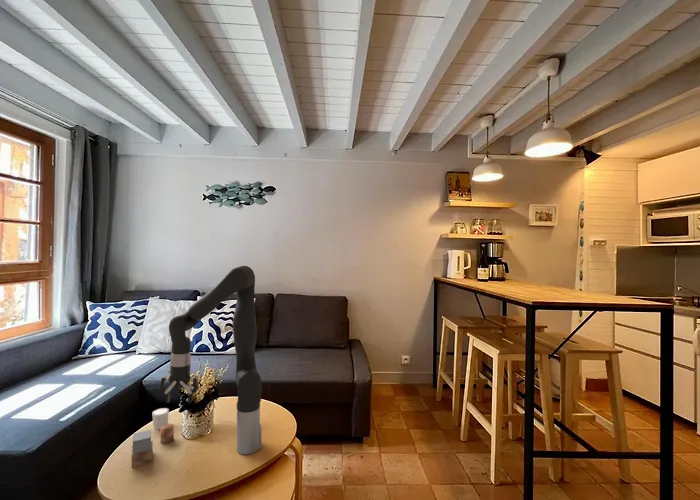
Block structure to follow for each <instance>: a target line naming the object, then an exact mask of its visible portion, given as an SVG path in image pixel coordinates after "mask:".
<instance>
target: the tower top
mask: <svg viewBox="0 0 700 500" xmlns="http://www.w3.org/2000/svg"><path fill="white" fill-rule="evenodd" d="M151 441H152V430H151V429H148V430H143V431H140V432H134V433H133V434H132V445H133V454H137V453H141V452H145V451H149V450H151Z"/></svg>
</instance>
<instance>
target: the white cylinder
mask: <svg viewBox="0 0 700 500" xmlns="http://www.w3.org/2000/svg"><path fill="white" fill-rule="evenodd" d="M169 413H170V409H169V408H168V407H167V408H166V407H164V408H163V407H161V408H157V409H155V410H153V411H152V413H151V414H152V415H151V416H152V425H153V429H154V430H157V431H158V430H159V431H160V428H161V427H162V426H163V425H166V424H169Z"/></svg>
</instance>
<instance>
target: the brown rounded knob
mask: <svg viewBox="0 0 700 500" xmlns="http://www.w3.org/2000/svg"><path fill="white" fill-rule="evenodd" d="M174 427H175V426H174V424H172V423H168V424H166V425H163V426H162V427H161V428H160V430H159V431H160V434H159V435H160V444H162V445H167V444H171V443H172V442H174V440H175V439H174V438H175V437H174V433H175V430H174ZM170 442H171V443H170Z"/></svg>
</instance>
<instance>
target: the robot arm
mask: <svg viewBox="0 0 700 500" xmlns="http://www.w3.org/2000/svg"><path fill="white" fill-rule="evenodd" d="M255 286H256V275H255V272H254V270H253V269H252V268H251V267H250V266H248V265H241V266H238V267H234V268H232V269H231V270H230V271H229V272H228V273H227V274H226V275H225V276H224V278H222V279H221V280H220V282H219V283H218V284H217V285H216V286H215V287H214V288H212V289H211V290H210V291H209V292H207V293H205V294H204V295H203V296H202V297H200V298H199V299H198V300H196V301H195V302H194V303H192V304H191V305H190V306H189V307H188V310H187V311H185V312H184V313H182V314H179V315H175V316H174V317H172V318H171V319H170V320H169V321H170V322H169V325H168V332H169V335H170V341H171V353H170V362H169V365H170V367H169V376H166V375H164V376H162V378H161V381H160V386H159V387H160V388H159V389H160V390H159V392H160V393H163V394H164V402H165V403H166V404H168V403H170V402H171V392H170V391H171V390H172V389H173V388H174V389H184V390H185V391H187V393H188V397H187V403H188V404H190V403H191V402H192V401H193V399H194V393H197V392H198V390H199V376H198V375H196V376H192V377H191V364H192V363H191V362H192V361H191V358H192V356H191V354H192V353H191V345H192V342H191V338H190V337H188V336H187V335H186V332H187V331H189V330H191V329H193V328H194V327H196V325H198V323H199V322H200V321H201V320H202V319H204V318H205V317H207V316H208V315H209V314H210V313H212V312H213V311H214V310H215V309H217V308H218V306H219V305H220V304H222V302H224V301H225V300H226V299H227V298H229V297H230V296H232V295H234V294H235V293H236V303H235V309H234V313H233V318H232V333H233V334H232V335H233V342H234V348H235V355H236V356H235V357H236V365H235V366H236V369H235V382H236V386H237V402H236V452H237V453H239V454H240V455H246V456H247V455H252V454H254V453H256V452H258V451H259V450H262V424H261V401H262V377H261V375H260V373H259V372H258V368H257V366H256V365H257V364H256V358H255V357H256V355H255V350H256V344H257V336H258V334H257V332H258V331H257V329H258V328H257V317H256V307H255ZM190 381H191V383H192V384H193V387H192V384H191V383H190ZM168 382H169V384H170V385H169V386H168V387H167V383H168ZM166 387H167V388H166Z"/></svg>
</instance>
